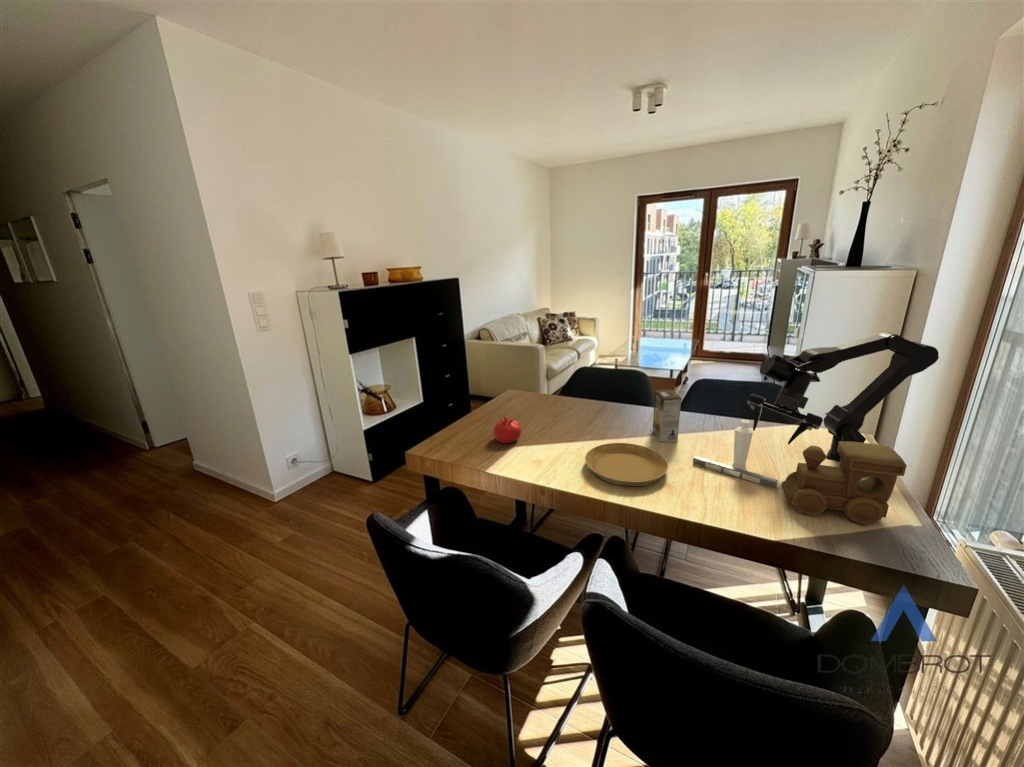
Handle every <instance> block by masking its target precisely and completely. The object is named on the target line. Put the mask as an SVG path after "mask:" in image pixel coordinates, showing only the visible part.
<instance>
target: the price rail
mask: <svg viewBox="0 0 1024 767" xmlns="http://www.w3.org/2000/svg"><path fill="white" fill-rule="evenodd" d="M693 464H694V465H696V466H700V467H703V468H706V469H708V470H713V471H716V472H719V473H722V474H727V475H729V476H733V477H736V478H739V479H742V480H746V481H749V482H750V483H751V482H752V483H754V484H758V485H761V486H762V485H763V486H765V487H768V488H771V489H774V490H776V489H777V487H778V483H779V479H778V478H777V479H776V478H773V477H769V476H766V475H762V474H759V473H756V472H752V471H749V470H747V469H746V470H742V469H739V468H736V467H732V465H728V464H725V463H721V462H717V461H715V460H712V459H708V458H705V457H701V456H698V455H694V457H693V458H692V465H693Z"/></svg>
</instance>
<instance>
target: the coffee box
mask: <svg viewBox="0 0 1024 767" xmlns="http://www.w3.org/2000/svg"><path fill="white" fill-rule="evenodd" d="M681 405H682V397H681V396H680V395H679V394H678V393H677V392H676V391H675V390H674V389H673V388H671V389H670V388H669V389H659V390H658V389H657V390H656V389H655V390H654V401H653V418H652V432H653V433H654V435H655V437H656V438H657V439H658V441H659V440H660V441H667V442H678V441H679V431H680V430H679V429H680V417H681ZM660 441H659V442H660Z"/></svg>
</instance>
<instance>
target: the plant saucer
mask: <svg viewBox="0 0 1024 767" xmlns="http://www.w3.org/2000/svg"><path fill="white" fill-rule="evenodd" d="M584 458H585V459H584V461H585V464H586V465H587V467H588V469H589V470H590V471H591V472H592V474H594V475H595V476H596V477H597V478H599V479H602V481H603V480H604V481H605V482H608V483H610V484H614V485H617V486H624V487H639V486H640V487H641V486H645V485H649V484H653V483H655V482H657V481H659V480H660V479H661V478H663V477H664V476H665V475H666V473H667V472H668V469H669V463H668V461H667V459H666V457H664V456H663V455H662V454H661V453H659V452H658V451H656V450H654V449H653V448H649V447H646V446H644V445H640V444H635V443H628V442H611V443H610V442H609V443H604V444H600V445H597V446H594V447H593V448H591V449H590V450H588V452H587V453H586V455H585V457H584Z"/></svg>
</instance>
